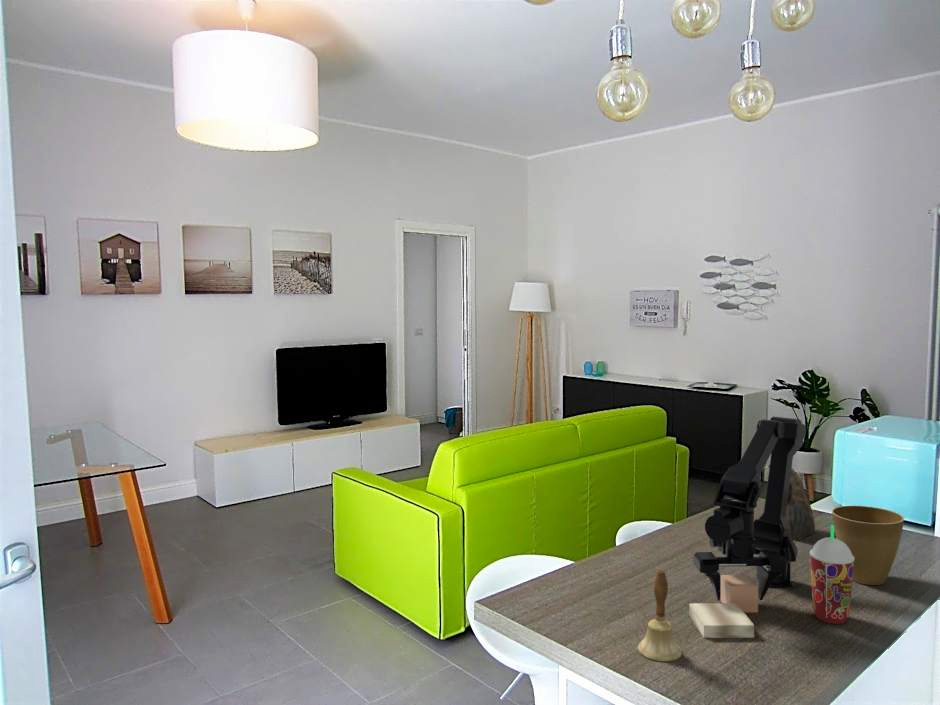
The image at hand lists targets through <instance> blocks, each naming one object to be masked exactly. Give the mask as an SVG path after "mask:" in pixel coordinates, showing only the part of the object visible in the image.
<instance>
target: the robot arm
mask: <svg viewBox="0 0 940 705" xmlns="http://www.w3.org/2000/svg"><path fill="white" fill-rule="evenodd" d="M806 436H807V427H806V425H805V424H803V422H802V420H801V419H799V418H790V417H781V416H772V417H771V418H770V419H760V420H758V422H757V424H756V431H755V432H754V435H753V436H752V438H751V440H750V442H749V443H748V445H747V447H746V449H745V451H744V453H743V455H742V457H741V459H740V460H739V462H738V463H735V464H733V465H732V466H730V467H728V470H727V471H726V472H725V474H724V475H723V476H722V477H721V478H720V482H719V484H718V488H717V491H716V493H715V497H714V500H713V506H716V507H717V508H715V509H713V515H712V514H711V515H710V516H709V517H707V519H706V521H705V522H704V530H705V533H706V535H707V536H708V539H709V547H710V548H717V550H718V552H721V554H722V556H721V557H720V556H715V554H714V553H713V552H712V551H696V552H695V553H694V554H693V556H692V557H693V558H692V564H693V566H695V568H696V569H697V570H698V572H699V573H700V574H704V575H705V577H707V578H708V579H709V581H710V584H711V587H712V589H713V592H714V596H715V598H716V600H717V601H719V602H721V574H720V573H719V570H720V567H756V573H755V577H756V578H757V579H758V601H763V599H764V598H765V596H766V594H767V592H768V591H769V589H770V588H771V587H794V583H793V581H791V567H792V566H791V564H792V563H795V562H796V561H797V556H798V550H799V549H798V547H797V545H796V544H795V542H794V540H792V538H791V528H790V526H789V524H788V521H787V519H786V509H787V501H788V492H789V484H790V476H791V468H792V469H793V460H794V456H795V455H796V454H797V453H798V451H799V450H800V449H801V448H802V446H803V443H804V439H805V438H806ZM769 458H770V460H769ZM768 461H769V464H770V467H768V476H767V484H766V494H765V500H764V501H765V502H764V507H763V513H762V514H761V515H760V516H759V517H758V518H756V519H755V508H757V507H758V504H757V503H758V500H759V498H760V496H761V493H762V486H763V484H762V480H761V474H762V472H763V470H764V469H765V467H766V464H767V462H768ZM724 497H725V498H724ZM724 555H725V556H724ZM756 555H758V556H756Z"/></svg>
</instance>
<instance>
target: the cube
mask: <svg viewBox="0 0 940 705" xmlns="http://www.w3.org/2000/svg"><path fill="white" fill-rule="evenodd" d="M758 586H759V584H757V583H756V582H755V580H754V579H753V578H751V576H750V575H749V574H720V603H737V605H738V606H739V607H740V608H741V609H742V611H743V612H744V613H745V614H746V613H759V598H758Z"/></svg>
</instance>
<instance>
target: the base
mask: <svg viewBox="0 0 940 705" xmlns="http://www.w3.org/2000/svg"><path fill="white" fill-rule="evenodd" d="M688 613H689V617H690V618H691V620H692V622H693V623H694V625H695V626H696V628H697V629H698V631H699V633H700V634H701V636H702V637H703V638H704V639H709V638H710V639H713V638H714V639H715V638H716V639H719V638H721V639H722V638H724V639H725V638H727V639H729V638H730V639H731V638H735V639H736V638H737V639H739V638H746V639H747V638H755V624H754V623H753V621H752V620H751V619H750V618H749V617H748V616H747V614H746V613H744V612H743V611H742V609H741V608H740V607H739V606H738V605H737V603H722V602H718V603H717V602H715V603H714V602H712V603H711V602H710V603H709V602H707V603H706V602H704V603H700V602H699V603H697V602H695V603H689V612H688Z"/></svg>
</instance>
